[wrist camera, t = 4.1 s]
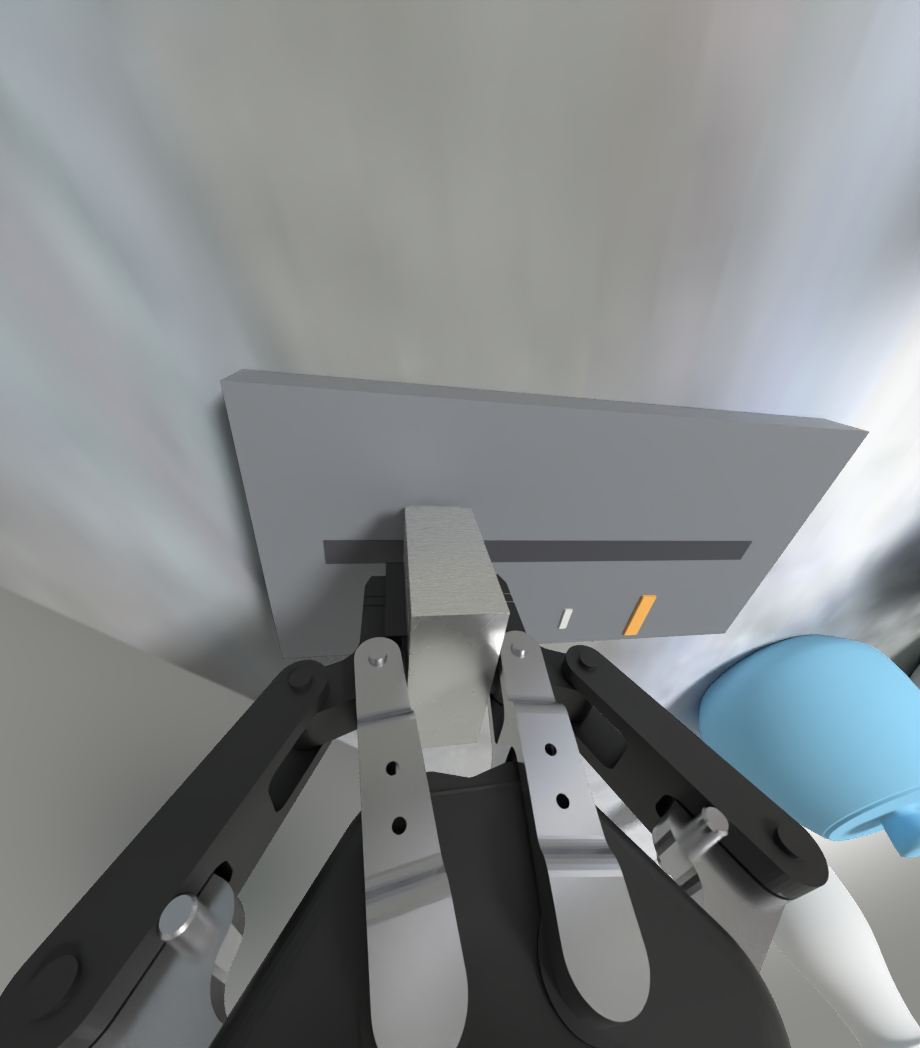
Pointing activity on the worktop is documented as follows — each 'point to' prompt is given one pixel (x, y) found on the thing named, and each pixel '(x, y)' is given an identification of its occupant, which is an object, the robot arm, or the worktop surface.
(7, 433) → the worktop surface
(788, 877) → the robot arm
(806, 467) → the slider console
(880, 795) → the sugar bowl
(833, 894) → the milk bottle
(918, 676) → the bowl
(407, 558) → the fader tab
